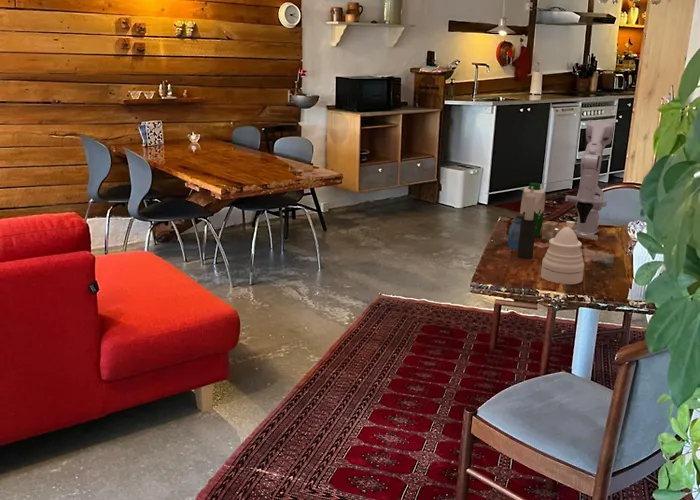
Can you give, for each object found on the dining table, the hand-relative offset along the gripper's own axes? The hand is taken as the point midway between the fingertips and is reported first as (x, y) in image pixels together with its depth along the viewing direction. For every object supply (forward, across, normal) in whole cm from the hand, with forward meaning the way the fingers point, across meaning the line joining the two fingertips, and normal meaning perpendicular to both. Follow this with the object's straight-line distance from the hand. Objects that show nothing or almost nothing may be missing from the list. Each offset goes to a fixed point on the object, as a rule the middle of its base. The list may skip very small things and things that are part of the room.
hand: (582, 222), depth 251 cm
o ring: (+8, -6, 0) cm, 10 cm away
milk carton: (+8, -20, 0) cm, 21 cm away
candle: (+8, -10, -29) cm, 32 cm away
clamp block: (+8, -12, 0) cm, 15 cm away
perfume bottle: (+8, -17, -19) cm, 27 cm away
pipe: (+6, -4, 0) cm, 7 cm away
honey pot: (+8, +8, -43) cm, 45 cm away
